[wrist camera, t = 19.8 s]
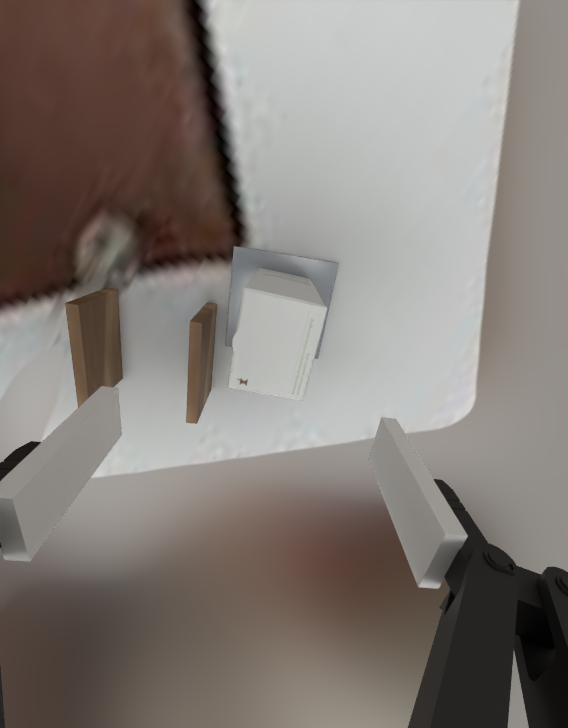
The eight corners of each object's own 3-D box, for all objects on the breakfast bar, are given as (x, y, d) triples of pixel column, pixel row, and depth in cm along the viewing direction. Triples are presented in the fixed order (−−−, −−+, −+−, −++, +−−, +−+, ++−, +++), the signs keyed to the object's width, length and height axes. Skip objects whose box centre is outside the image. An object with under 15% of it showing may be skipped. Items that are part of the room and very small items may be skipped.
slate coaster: (225, 344, 40) (225, 345, 40) (234, 245, 36) (233, 246, 35) (317, 357, 41) (317, 358, 41) (337, 262, 37) (338, 263, 36)
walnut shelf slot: (113, 377, 42) (78, 409, 35) (107, 287, 37) (65, 303, 30) (210, 389, 43) (196, 423, 36) (217, 304, 38) (202, 323, 31)
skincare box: (295, 341, 40) (304, 407, 26) (243, 331, 39) (223, 392, 25) (312, 275, 36) (333, 308, 22) (256, 262, 36) (240, 287, 22)
